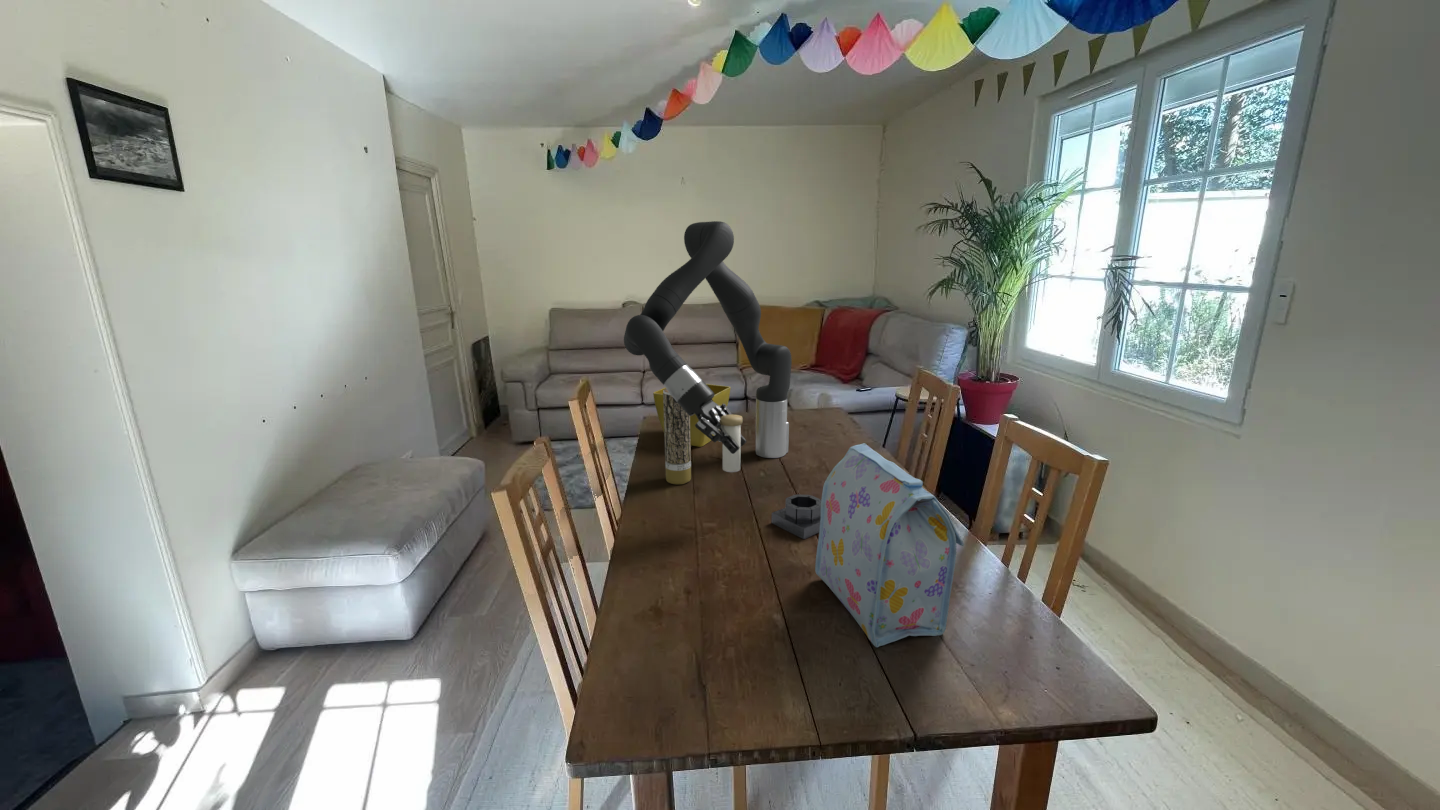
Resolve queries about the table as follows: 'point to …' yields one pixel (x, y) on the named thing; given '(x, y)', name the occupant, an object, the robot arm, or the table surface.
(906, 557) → the lunch bag
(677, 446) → the paper tube
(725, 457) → the white beige cylinder
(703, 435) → the flower pot
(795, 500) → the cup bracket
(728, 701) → the table surface
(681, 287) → the robot arm
